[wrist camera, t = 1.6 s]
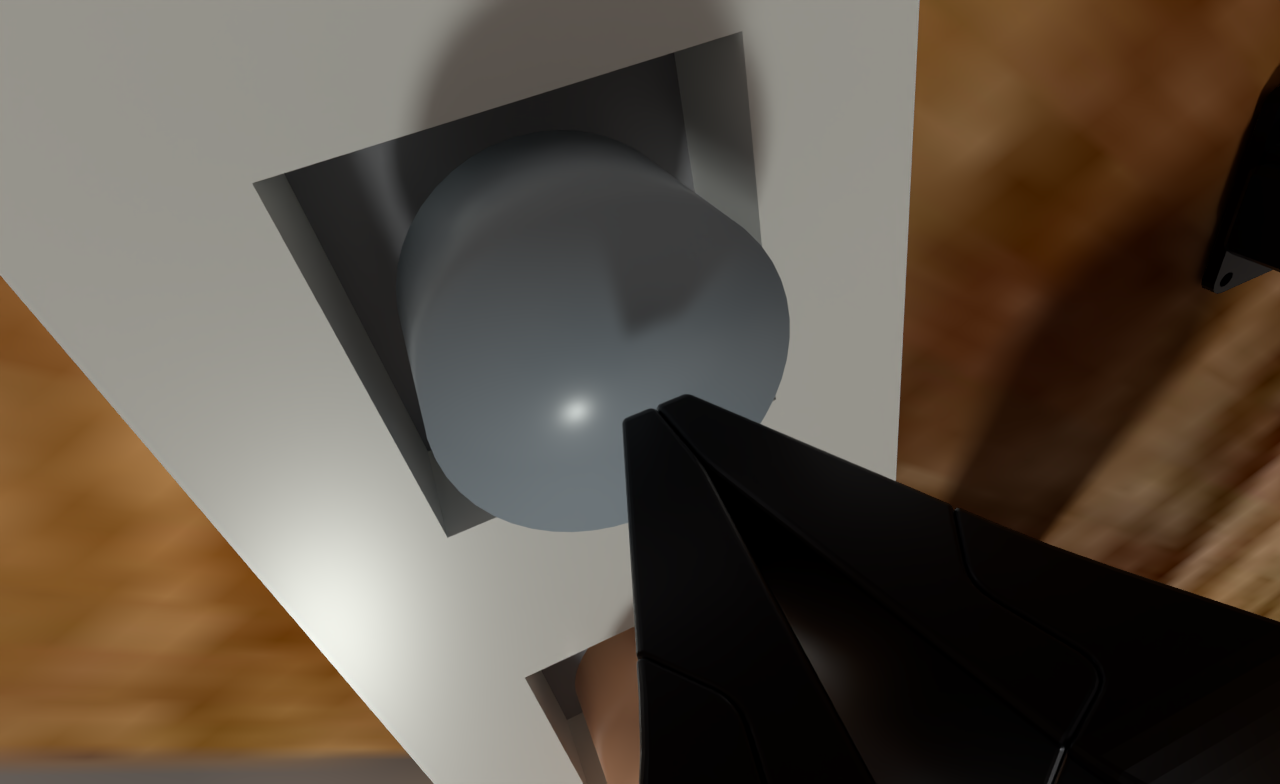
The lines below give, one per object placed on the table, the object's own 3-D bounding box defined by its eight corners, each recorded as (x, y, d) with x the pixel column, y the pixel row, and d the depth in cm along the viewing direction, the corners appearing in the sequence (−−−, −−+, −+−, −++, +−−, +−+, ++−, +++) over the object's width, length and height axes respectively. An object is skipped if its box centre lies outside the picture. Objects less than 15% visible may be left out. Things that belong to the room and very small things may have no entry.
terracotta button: (744, 554, 17) (813, 655, 15) (761, 664, 20) (820, 761, 18) (551, 643, 16) (592, 765, 14) (600, 744, 19) (640, 857, 17)
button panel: (764, -203, 12) (931, -242, 8) (814, 596, 25) (885, 693, 22) (-37, -7, 9) (-203, 35, 6) (490, 752, 23) (519, 883, 20)
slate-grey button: (672, 86, 10) (776, 137, 8) (714, 357, 14) (798, 450, 11) (336, 194, 10) (346, 285, 7) (463, 457, 13) (498, 581, 10)
